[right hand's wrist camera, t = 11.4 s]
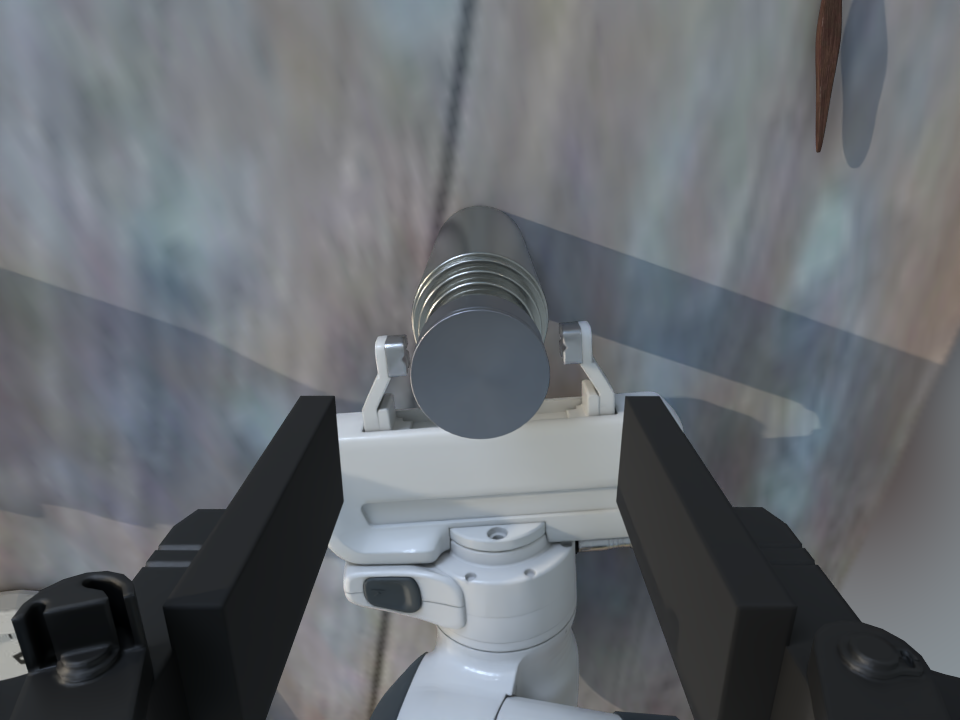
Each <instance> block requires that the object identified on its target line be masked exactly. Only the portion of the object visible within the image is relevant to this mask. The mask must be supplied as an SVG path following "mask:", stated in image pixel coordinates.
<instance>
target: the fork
mask: <svg viewBox="0 0 960 720" xmlns="http://www.w3.org/2000/svg"><path fill="white" fill-rule="evenodd" d="M841 28H842V0H822V1H821V7H820V12H819V18H818V25H817V32H816V152H820V151H821V147H822V143H823V138H824V133H825V127H826V121H827V116H828V110H829V103H830V98H831V92H832V86H833V81H834V76H835V70H836V65H837V60H838V54H839V48H840V41H841Z"/></svg>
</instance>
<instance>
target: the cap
mask: <svg viewBox="0 0 960 720" xmlns="http://www.w3.org/2000/svg"><path fill="white" fill-rule="evenodd" d="M410 380H411V387H412V391H413V394H414V397H415V399H416V401H417V403H418V405H419V407H420V408H421V410H422V411H423V412H424V414H425V415H426V416H427V417H428V418H429V419H430V420H431V421H432V422H433V423H435V424H436V425H437V426H438V427H440V428H442V429H443V430H445V431H447V432H449V433H451V434H454V435H457V436H460V437H464V438H469V439H490V438H496V437H500V436H503V435H506V434H509V433H511V432H513V431H515V430H517V429H518V428H520V427H522V426H523V425H524V424H526V423H527V422H528V421H529V420H530V419H531V418H532V417H533V416H534V415H535V414H536V412H537V411H538V410H539V408H540V407H541V405H542V403H543V401H544V399H545V397H546V395H547V391H548V387H549V381H550V367H549V361H548V357H547V354H546V351H545V347H544V344H543V340H542V337H541V334H540V332H539V330H538V327H537V326H536V324H535V323H534V321H533V320H532V319H531V317H530V316H529V315H528V314H527V313H526V312H525V311H524V310H523V309H521V308H520V307H518V306H517V305H516V304H514V303H512V302H510V301H508V300H506V299H503V298H500V297H496V296H492V295H482V294H479V295H469V296H463V297H460V298H457V299H454V300H452V301H450V302H448V303H446V304H445V305H443V306H441V307H440V308H439V309H438V310H436V311H435V312H434V313H433V314H432V315H431V316H430V317H429V319H428V320H427V321H426V323H425V324H424V326H423V328H422V330H421V332H420V334H419V337H418V340H417V343H416V347H415V350H414V354H413V357H412V362H411V367H410Z"/></svg>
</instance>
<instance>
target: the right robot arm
mask: <svg viewBox="0 0 960 720" xmlns="http://www.w3.org/2000/svg"><path fill="white" fill-rule="evenodd" d="M343 503H344V496H343V485H342V473H341V462H340V450H339V439H338V427H337V416H336V404H335V396H300V398H299V399H298V401H297V402H296V404H295V405H294V407H293V408H292V410H291V411H290V413H289V414H288V416H287V417H286V419H285V421H284V422H283V424H282V425H281V427H280V428H279V430H278V431H277V433H276V434H275V436H274V437H273V439H272V440H271V442H270V443H269V445H268V446H267V448H266V449H265V451H264V452H263V454H262V456H261V457H260V459H259V460H258V462H257V463H256V465H255V466H254V468H253V469H252V471H251V472H250V474H249V475H248V477H247V478H246V480H245V481H244V483H243V484H242V486H241V487H240V489H239V490H238V492H237V494H236V495H235V497H234V498H233V500H232V501H231V503H230V504H229V506H228V507H227V509H198V510H196V511H195V512H194V513H192V514H191V515H189V516H188V517H186V518H185V519H184V520H182V521H181V522H179V523H178V524H176V525H175V526H174V527H173V528H172V529H171V531H170V532H169V533H168V534H167V536H166V537H165V538H164V540H163V541H162V542H161V544H160V545H159V548H158V550H155V552H154V553H153V554H152V556H151V557H150V558H149V559H148V561H147V562H146V567H142V569H141V570H140V571H139V573H138V574H137V575H136V577H135V578H134V579H133V581H131V580H130V579H128V578H127V577H126V576H125V575H124V574H119V573H114V572H110V571H102V572H90V573H84V574H80V575H77V576H73V577H70V578H66V579H63V580H61V581H59V582H57V583H55V584H53V585H51V586H49V587H47V588H45V589H43V590H41V591H39V592H38V593H37V594H35V595H34V596H33V597H32V598H30V599H29V600H28V601H26V602H25V603H24V604H22V606H21V607H20V608H19V610H18V611H17V612H16V614H15V615H14V616H13V617H12V619H11V621H12V624H13V627H14V630H15V633H16V637H17V640H18V643H19V646H20V649H21V652H22V655H23V658H24V661H25V664H26V667H27V670H28V673H27V674H24V675H20V676H17V677H13V678H9V679H5V680H1V681H0V720H266V717H267V714H268V711H269V708H270V706H271V703H272V700H273V697H274V695H275V692H276V689H277V686H278V683H279V681H280V678H281V675H282V672H283V670H284V667H285V664H286V661H287V658H288V656H289V653H290V650H291V647H292V645H293V642H294V639H295V636H296V633H297V631H298V628H299V625H300V622H301V620H302V617H303V614H304V611H305V608H306V606H307V603H308V600H309V597H310V594H311V592H312V589H313V586H314V583H315V581H316V578H317V575H318V572H319V569H320V567H321V564H322V561H323V558H324V556H325V553H326V550H327V547H328V544H329V542H330V539H331V536H332V533H333V531H334V528H335V525H336V522H337V519H338V517H339V514H340V511H341V508H342V506H343ZM616 503H617V506H618V508H619V511H620V514H621V517H622V519H623V522H624V525H625V528H626V531H627V533H628V536H629V539H630V542H631V544H632V547H633V550H634V553H635V556H636V558H637V561H638V564H639V567H640V569H641V572H642V575H643V578H644V581H645V583H646V586H647V589H648V592H649V594H650V597H651V600H652V603H653V606H654V608H655V611H656V614H657V617H658V620H659V622H660V625H661V628H662V631H663V633H664V636H665V639H666V642H667V645H668V647H669V650H670V653H671V656H672V658H673V661H674V664H675V667H676V670H677V672H678V675H679V678H680V681H681V683H682V686H683V689H684V692H685V695H686V697H687V700H688V703H689V706H690V708H691V711H692V714H693V717H694V720H960V678H958V677H954V676H950V675H945V674H942V673H939V672H936V671H932V670H930V668H929V667H928V665H927V664H926V662H925V661H924V659H923V657H922V656H921V655H920V654H919V653H918V652H916V651H915V650H914V649H913V648H912V647H911V646H909V645H908V644H907V643H906V642H905V641H903V640H902V639H900V638H898V637H896V636H894V635H893V634H891V633H889V632H887V631H885V630H883V629H881V628H878V627H875V626H872V625H868V624H865V623H862V622H861V621H860V619H859V618H858V617H857V616H856V614H855V613H854V612H853V610H852V609H851V608H850V606H849V605H848V604H847V602H846V601H845V600H844V599H843V597H842V596H841V595H840V593H839V592H838V591H837V589H836V588H835V587H834V585H833V584H832V583H831V582H830V580H829V579H828V578H827V576H826V575H825V574H824V572H823V571H822V570H821V568H820V567H819V566H818V565H815V561H814V559H813V558H812V557H811V555H810V554H809V553H808V551H807V550H806V549H805V548H802V544H801V542H800V541H799V540H798V538H797V537H796V536H795V534H794V533H793V532H792V531H791V529H790V528H789V527H788V525H787V524H786V523H784V522H783V521H781V520H780V519H778V518H777V517H775V516H774V515H773V514H771V513H770V512H768V511H767V510H765V509H764V508H762V507H732V506H731V504H730V503H729V501H728V500H727V498H726V497H725V495H724V494H723V492H722V490H721V489H720V487H719V486H718V484H717V483H716V481H715V480H714V478H713V477H712V475H711V474H710V472H709V471H708V469H707V468H706V466H705V465H704V463H703V462H702V460H701V459H700V457H699V456H698V454H697V452H696V451H695V449H694V448H693V446H692V445H691V443H690V442H689V440H688V439H687V437H686V436H685V434H684V433H683V431H682V430H681V428H680V427H679V425H678V424H677V422H676V421H675V419H674V417H673V416H672V414H671V413H670V411H669V410H668V408H667V407H666V405H665V404H664V402H663V401H662V399H661V398H660V396H625V404H624V416H623V427H622V439H621V450H620V462H619V473H618V485H617V496H616Z"/></svg>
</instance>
